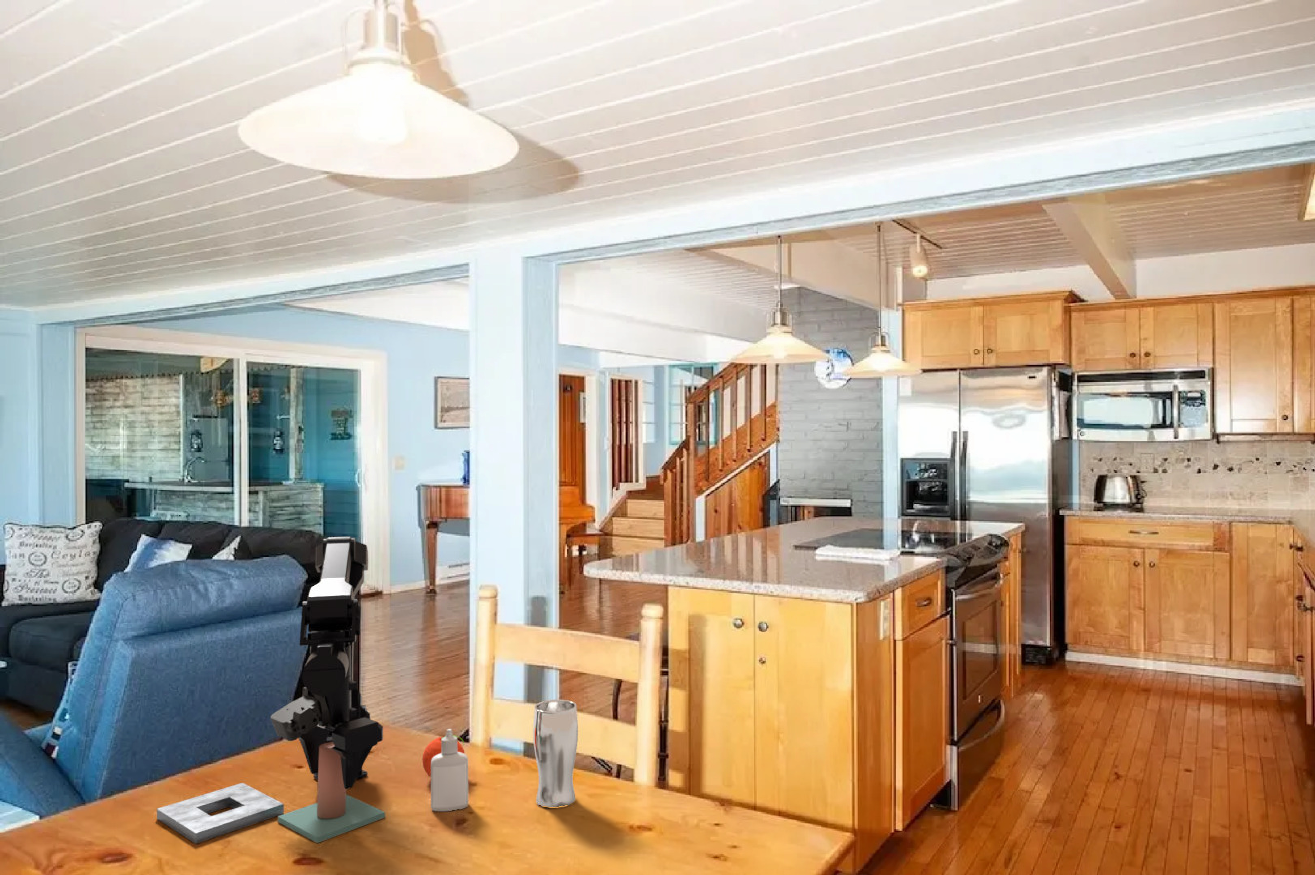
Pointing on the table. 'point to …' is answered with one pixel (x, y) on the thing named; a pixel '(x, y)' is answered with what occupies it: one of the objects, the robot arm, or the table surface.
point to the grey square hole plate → (201, 826)
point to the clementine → (435, 752)
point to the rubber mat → (330, 820)
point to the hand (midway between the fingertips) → (331, 780)
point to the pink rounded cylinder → (330, 783)
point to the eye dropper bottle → (449, 777)
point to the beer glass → (555, 751)
